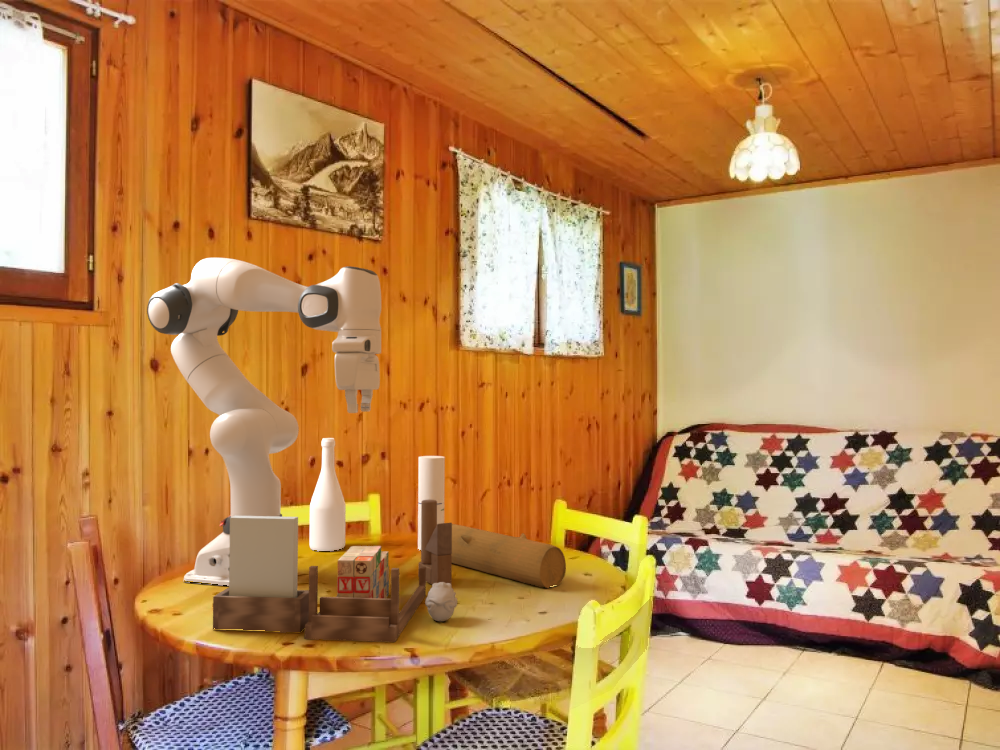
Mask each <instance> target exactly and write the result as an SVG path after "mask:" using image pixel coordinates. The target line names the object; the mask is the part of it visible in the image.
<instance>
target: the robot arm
mask: <svg viewBox="0 0 1000 750" xmlns="http://www.w3.org/2000/svg"><path fill="white" fill-rule="evenodd" d="M239 311H243V312H255V313H256V312H258V313H259V312H266V313H267V312H271V313H273V312H279V313H280V312H289V313H297V314H298V315H299V319H300V321H301V322H302V323H303V325H305V326H306V327H308V328H311V329H314V330H316V331H327V332H335V333H337V336H336V338H335V339H334V340H333V341H332V343H331V344H332V347H331V350H332V352H333V353H335V355H334V376H335V384H336V387H337V389H338V390H339V391H343V390H344V393H345V394H344V396H345V397H344V398H345V400H346V405H347V406H346V407H347V408H346V409H347V413H348V414H357V413H358V412H359V404H358V398H357V396H358V391H359V390H360V392H361V402H360V411H361V412H362V413H363V412H370V411H371V410H372V409H371V408H372V406H371V404H372V399H373V395H374V393H373V392H374V390H379V388H380V384H381V383H380V382H381V380H380V379H381V375H380V374H381V373H380V361H379V357H378V356H377V354H378V355H379V354H380V355H381V354H382V327H381V324H380V317H381V313H382V289H381V282H380V278H379V276H378V274H377V273H376V272H375V271H373V270H372V269H367V268H363V267H359V266H350V265H349V266H343V267H340V269H339V271H338V272H337V273H336V274H335V275H334V276H332V277H330V278H329V279H326V280H325V281H322V282H319V283H317V284H311V285H310V286H307V285H302V284H299V283H296V282H295V281H292V280H290V279H288V278H285V277H283V276H280V275H278V274H276V273H274V272H272V271H269V270H267V269H265V268H263V267H260V266H258V265H255V264H253V263H250V262H246V261H244V260H239V259H234V258H227V257H206V258H203V259H201V260H199V261H198V262H197V263H196V264H195V266H194V267H193V268H192V271H191V276H190V280H189V282H188V283H186V284H181V283H178V282H176V283H174V284H172V285H170V286H167V287H166V288H163V289H161V290H159V291H157V292H155V293H153V294H152V295H151V297H150V298H149V299H148V303H147V309H146V312H147V313H146V314H147V318H148V319H147V320H148V321H149V323H150V324H151V327H152V328H153V329H154V330H155V331H157V332H158V333H161V334H164V335H170V336H171V335H173V336H174V335H175V336H176V337H175V338H174V339H173V341H172V342H171V346H170V353H171V356H172V358H173V361H174V363H175V365H176V366H177V368H178V370H179V372H180V373H181V375H182V376H183V378H184V379H185V381H186V382H187V384H188V385H189V386H190V387H191V389H192V390H193V391H194V392H195V393H194V394H196V396H197V397H198V398H199V400H201V402H202V403H203V404H204V406H205V407H206V408H207V409H208V410H209V411H211V412H212V413H215V414H217V415H218V416H217V417H216V418H215V419H214V421H213V422H212V423H211V427H210V430H209V438H210V439H209V440H210V443H211V445H212V447H213V449H214V450H215V451H216V452H217V453H218V454H219V455H220V456H221V458H222V460H223V462H224V464H225V465H224V466H225V468H226V472H227V474H228V479H229V485H230V515H228V517H225V518H224V519H223V520H221V521H219V523H220V524H219V527H222V532H221V533H220V534H218V535H217V536H216V537H215V538H214V539H213V540H211V541H210V542H209V543H207V544H206V545H204V547H202V548H201V549H200V550H199V551H198V553H197V556H196V557H195V558H196V559H195V564H194V568H193V569H192V570H190V571H188V572H186V574H184V576H183V581H184V580H185V581H193V582H202V583H211V584H210V585H212V584H218V585H217V586H223V585H227V587H229V552H230V518H231V517H233V516H280V517H283V514H282V513H281V505H282V504H281V501H282V499H281V498H282V497H281V494H282V492H281V491H282V489H281V488H282V486H281V485H282V484H281V480H280V478H279V477H278V476H277V475H276V474H275V473H274V471H273V468H272V465H271V460H270V455H271V454H277V453H279V452H282V451H284V450H285V449H287V448H289V447H291V446H292V445H293V444H294V443H295V442H296V440H297V439H298V435H299V432H300V431H299V424H298V420H297V418H296V416H294V415H293V413H291V412H289V411H287V410H286V409H283V408H282V407H280V406H278V404H276V403H275V402H274V401H273V400H271V399H270V398H269V397H268V396H266V394H264V393H263V392H262V391H261V390H260V389H258V388H257V387H256V386H255V385H254V384H252V383H251V382H250V381H249V380H248V379H247V378H246V376H245V375H244V373H242V371H241V370H240V368H239V367H238V366H237V365H236V364H235V362H233V360H232V359H231V357H230V355H228V354H227V352H226V351H225V350H224V349H223V348H222V346H221V345H220V342H219V341H218V336H219V337H220V336H224V335H226V334H227V333H228V332H229V330H230V329H229V328H230V327H231V326H232V325H233V323H234V322H235V320H236V319H237V316H238V312H239ZM177 335H178V336H177Z"/></svg>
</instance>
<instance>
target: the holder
mask: <svg viewBox="0 0 1000 750" xmlns="http://www.w3.org/2000/svg"><path fill="white" fill-rule="evenodd" d="M308 622H309V589H308V590H307V589H305V590H303V589H297V598H282V597H248V596H229V587H227V588H226V589H224V590H222V591H220V592H218V593H217V594H216V595H213V596H212V630H213V629H214V628H215V629H243V630H265V631H280V632H279V633H286V632H301V631H302V630H303V629H304V628H305V625H306V624H307V623H308ZM304 630H305V629H304ZM304 630H303V631H304ZM303 631H302V632H303ZM302 632H301V633H302Z"/></svg>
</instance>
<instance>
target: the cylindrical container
mask: <svg viewBox="0 0 1000 750" xmlns="http://www.w3.org/2000/svg"><path fill="white" fill-rule="evenodd" d="M445 459H446V457H445V456H442V455H423V456H422V455H420V456H418V469H417V470H418V472H417V473H418V479H417V480H418V486H417V487H418V488H417V490H418V491H417V494H418V495H417V497H418V498H417V502H418V503H417V505H418V506H417V510H418V511H417V550H418V549H419V550H418V551H420V550H421V503H422V501H423V500H436V501H437V524H441V523H445V481H446V480H445V479H446V477H445V471H446V470H445V469H446V468H445V467H446V466H445V462H446V461H445Z"/></svg>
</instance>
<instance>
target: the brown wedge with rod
mask: <svg viewBox="0 0 1000 750" xmlns="http://www.w3.org/2000/svg"><path fill="white" fill-rule="evenodd" d="M452 524H453V523H452V522H444V523H441V524H437V501H436V500H423V501H422V503H421V551H420V552H421V554H420V561H419V562H418V569H419V568H420V567H426V583H428V584H431V586H432V585H433V584H434V583H439V582H445V583H450V584H451V585H452V570H453V569H452V567H453V566H452V564H453V563H452V555H451V554H452ZM418 577H419V574H418Z"/></svg>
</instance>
